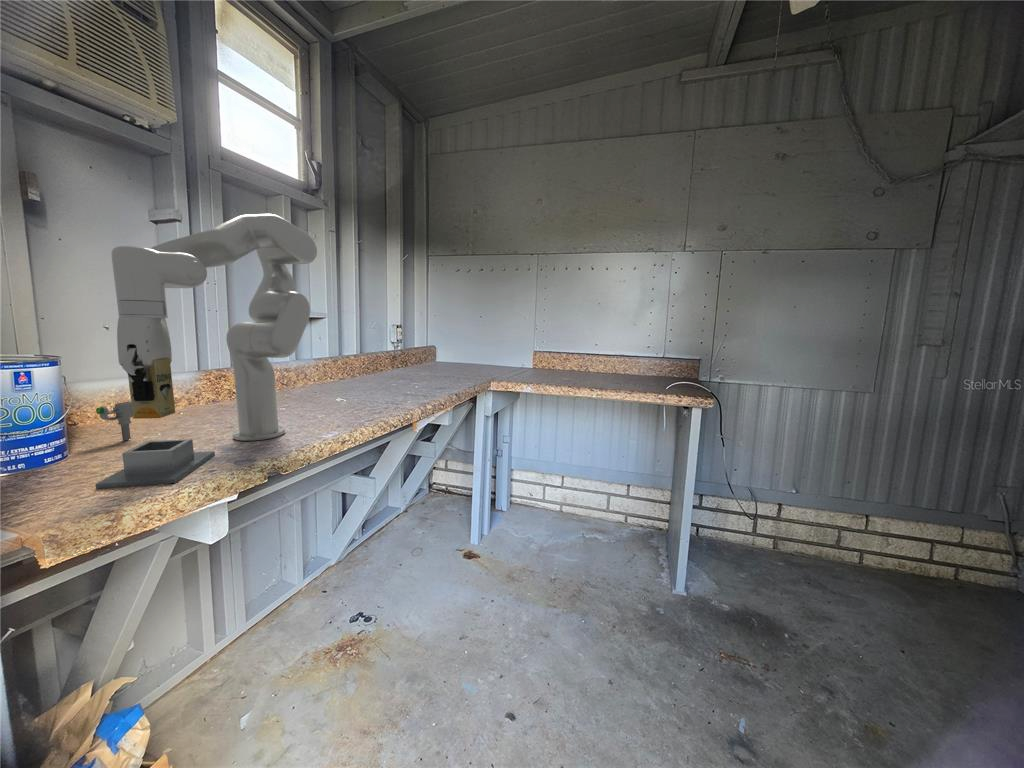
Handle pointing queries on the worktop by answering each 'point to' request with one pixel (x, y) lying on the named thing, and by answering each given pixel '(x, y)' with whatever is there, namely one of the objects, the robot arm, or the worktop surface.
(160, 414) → the shoe polish box
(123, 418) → the mechanical component
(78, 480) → the worktop surface
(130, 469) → the holder
